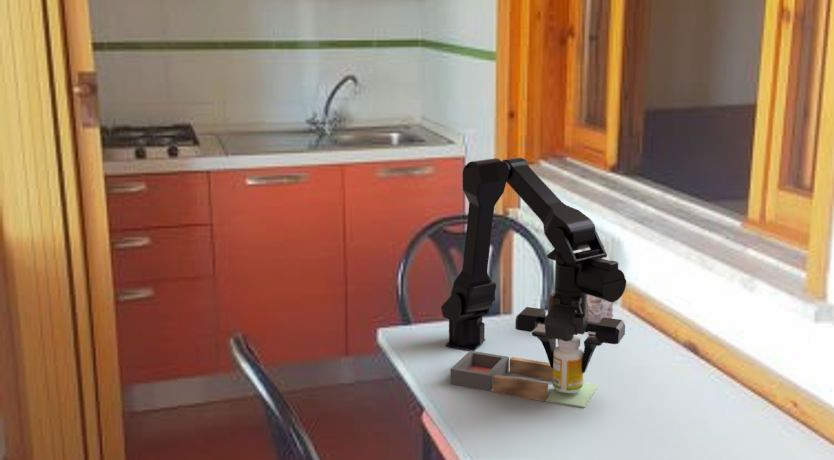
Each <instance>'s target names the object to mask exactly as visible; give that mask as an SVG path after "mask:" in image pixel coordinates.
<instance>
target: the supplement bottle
mask: <svg viewBox="0 0 834 460" xmlns="http://www.w3.org/2000/svg"><path fill="white" fill-rule="evenodd" d="M580 346H581V337H580V336H578V334H577V335H574V336H573V339H572V340H571V341H563V340H559V339H557V346H556V348H555V350H554V358H553V381H552V388H553V390H554V389H555V390H557V391H559V392H563V393H575V392H579V391H580V390H581V389H582V387H583V383H584V373H582V362H583V355H584V349H582V348H581V347H580Z"/></svg>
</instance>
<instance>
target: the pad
mask: <svg viewBox="0 0 834 460" xmlns="http://www.w3.org/2000/svg"><path fill="white" fill-rule="evenodd" d="M598 388H599V384H594V383H589V382H583V387H582V389H581V390H580V391H579V392H575V393H563V392H559V391H557V390H555V389H554V388H553V389H552V391H551V392H550V394H548V397H547V399H546V401H545V402H549V403H554V404H559V405H560V404H561V405H566V406H572V407H577V408H582V409H584V408H586V406H587V405H588V404H589V402H590V400H591V399H592V397H593V396H594V394H595V393H596V391H597V390H598Z"/></svg>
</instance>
